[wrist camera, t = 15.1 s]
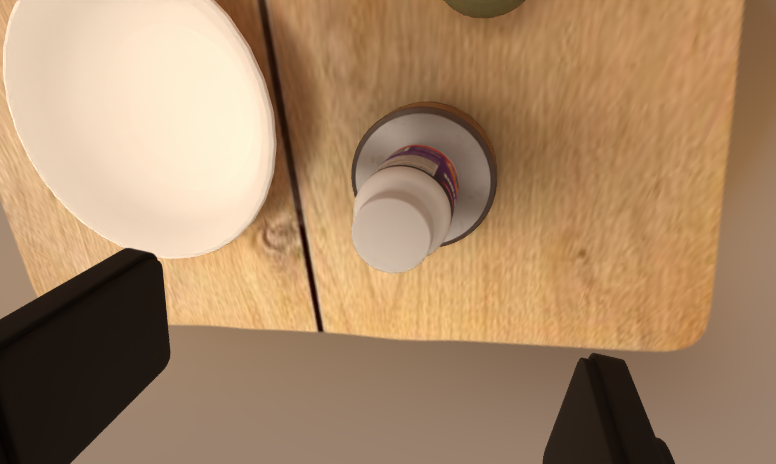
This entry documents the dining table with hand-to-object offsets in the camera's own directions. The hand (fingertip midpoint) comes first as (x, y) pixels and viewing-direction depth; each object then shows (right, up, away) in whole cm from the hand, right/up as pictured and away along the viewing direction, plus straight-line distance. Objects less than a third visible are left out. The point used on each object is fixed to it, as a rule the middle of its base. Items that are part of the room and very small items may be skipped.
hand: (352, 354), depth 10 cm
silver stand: (+4, +7, +23) cm, 25 cm away
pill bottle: (+3, +6, +21) cm, 22 cm away
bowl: (-14, +12, +26) cm, 32 cm away
